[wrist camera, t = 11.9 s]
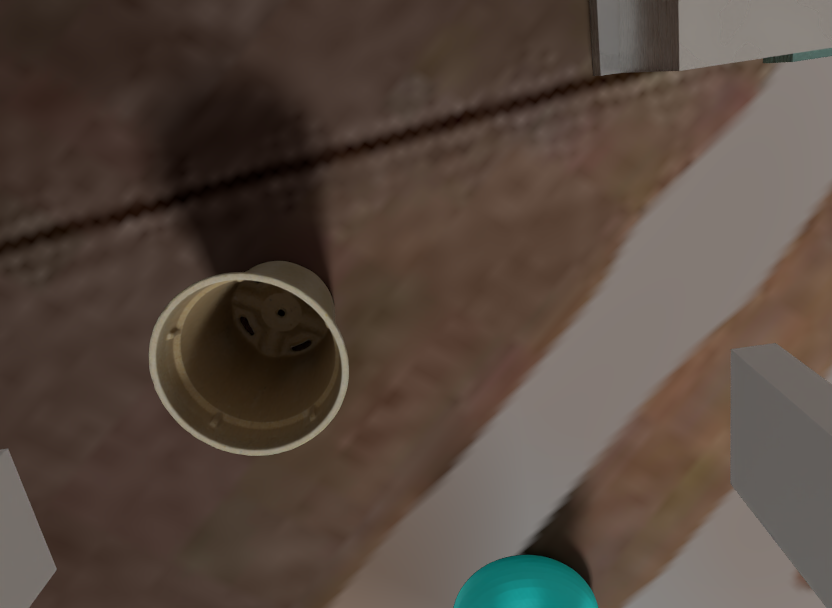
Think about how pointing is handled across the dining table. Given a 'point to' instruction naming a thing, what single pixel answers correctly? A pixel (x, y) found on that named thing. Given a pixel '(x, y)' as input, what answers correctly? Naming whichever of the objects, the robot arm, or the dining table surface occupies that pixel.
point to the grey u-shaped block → (705, 33)
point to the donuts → (526, 585)
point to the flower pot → (251, 359)
